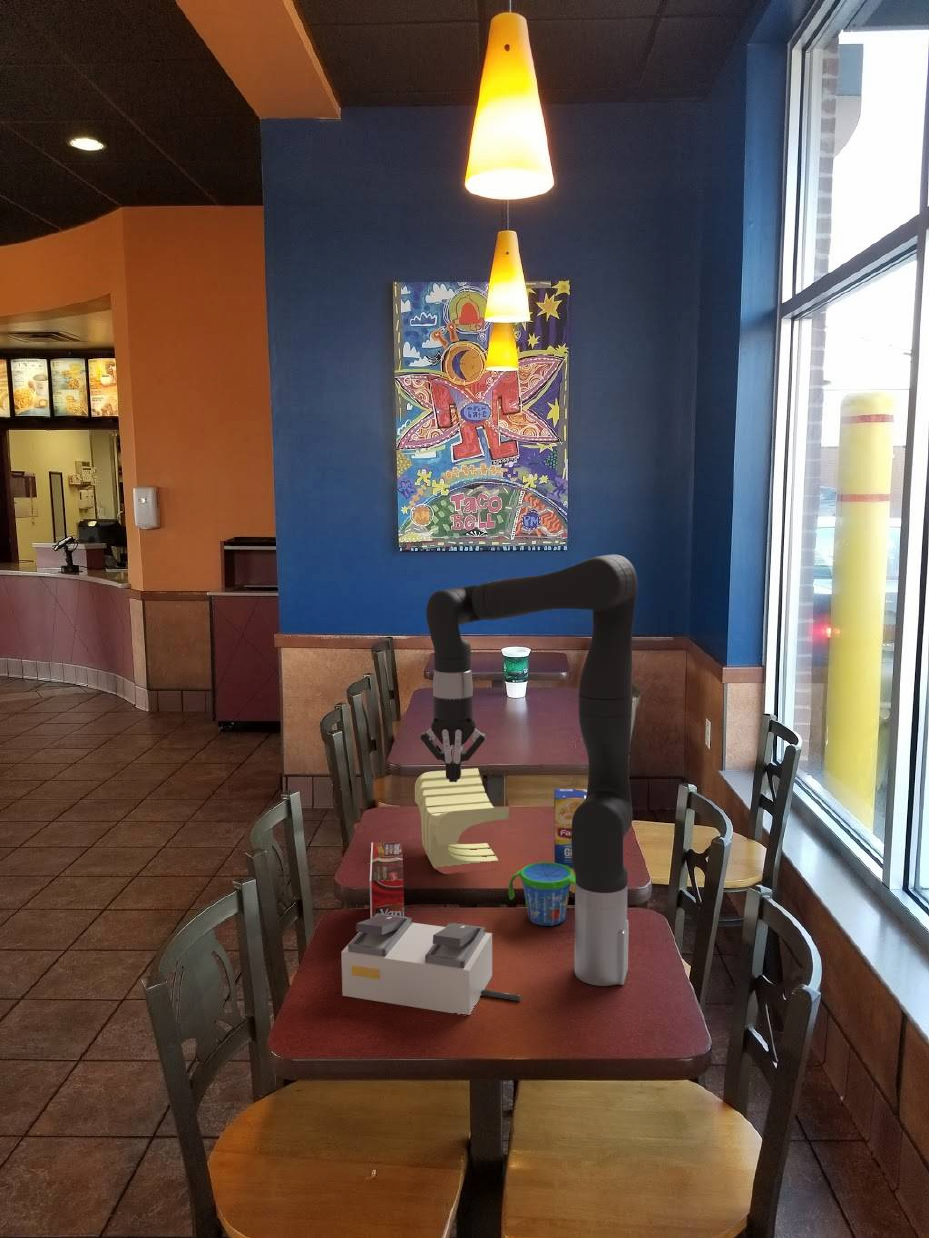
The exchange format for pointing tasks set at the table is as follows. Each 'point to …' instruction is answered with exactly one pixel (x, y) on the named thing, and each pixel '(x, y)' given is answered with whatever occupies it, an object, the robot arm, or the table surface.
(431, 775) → the slatted curved stool
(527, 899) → the snack cup
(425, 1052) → the table surface
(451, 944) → the rocker plain
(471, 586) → the robot arm
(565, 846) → the beverage box
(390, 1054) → the table surface
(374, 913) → the ice cream box
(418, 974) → the switch box
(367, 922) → the rocker dark gray
